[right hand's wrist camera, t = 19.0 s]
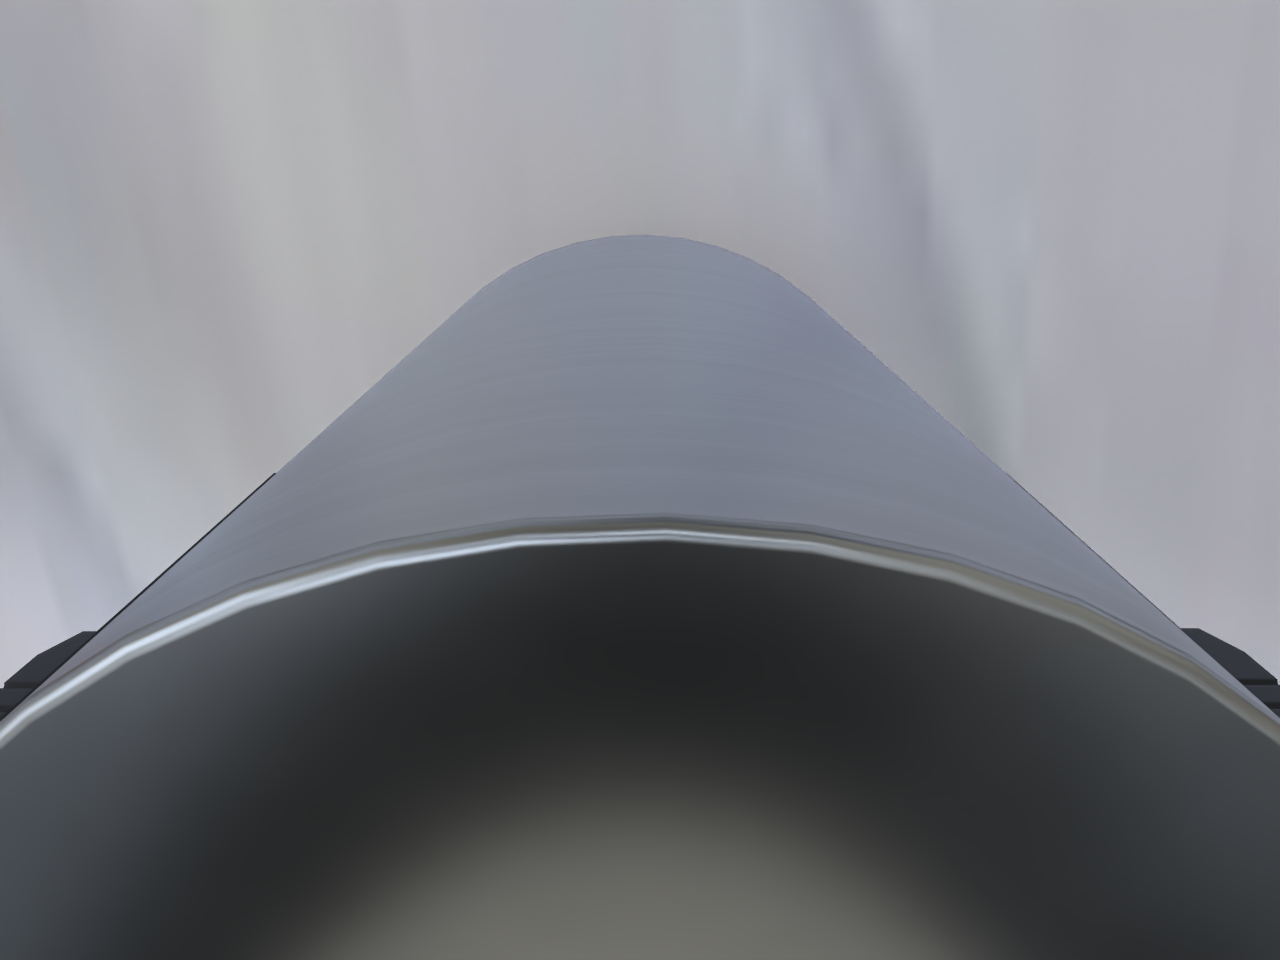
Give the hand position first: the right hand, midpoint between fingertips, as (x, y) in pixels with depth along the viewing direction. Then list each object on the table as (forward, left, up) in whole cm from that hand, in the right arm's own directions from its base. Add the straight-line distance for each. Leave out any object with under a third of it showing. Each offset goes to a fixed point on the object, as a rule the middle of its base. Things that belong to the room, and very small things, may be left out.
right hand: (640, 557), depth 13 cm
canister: (0, 0, -3) cm, 3 cm away
